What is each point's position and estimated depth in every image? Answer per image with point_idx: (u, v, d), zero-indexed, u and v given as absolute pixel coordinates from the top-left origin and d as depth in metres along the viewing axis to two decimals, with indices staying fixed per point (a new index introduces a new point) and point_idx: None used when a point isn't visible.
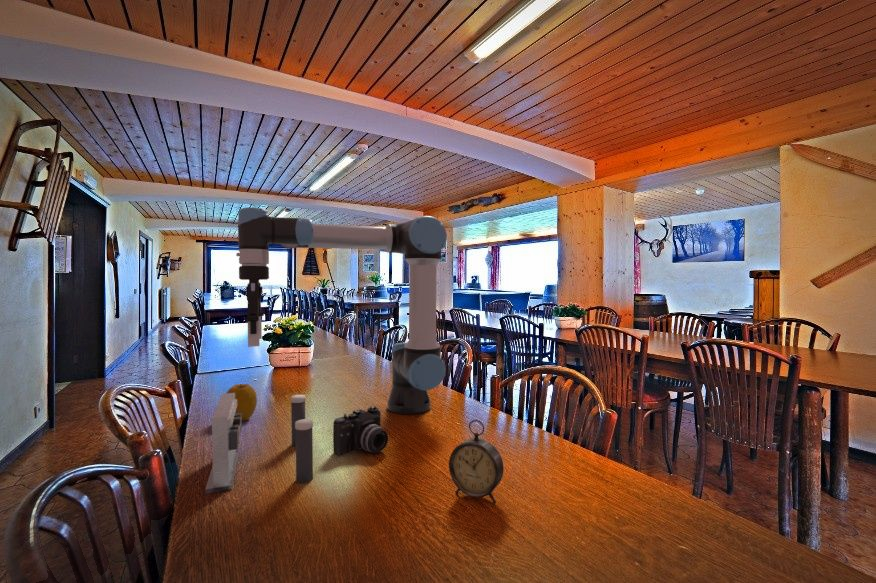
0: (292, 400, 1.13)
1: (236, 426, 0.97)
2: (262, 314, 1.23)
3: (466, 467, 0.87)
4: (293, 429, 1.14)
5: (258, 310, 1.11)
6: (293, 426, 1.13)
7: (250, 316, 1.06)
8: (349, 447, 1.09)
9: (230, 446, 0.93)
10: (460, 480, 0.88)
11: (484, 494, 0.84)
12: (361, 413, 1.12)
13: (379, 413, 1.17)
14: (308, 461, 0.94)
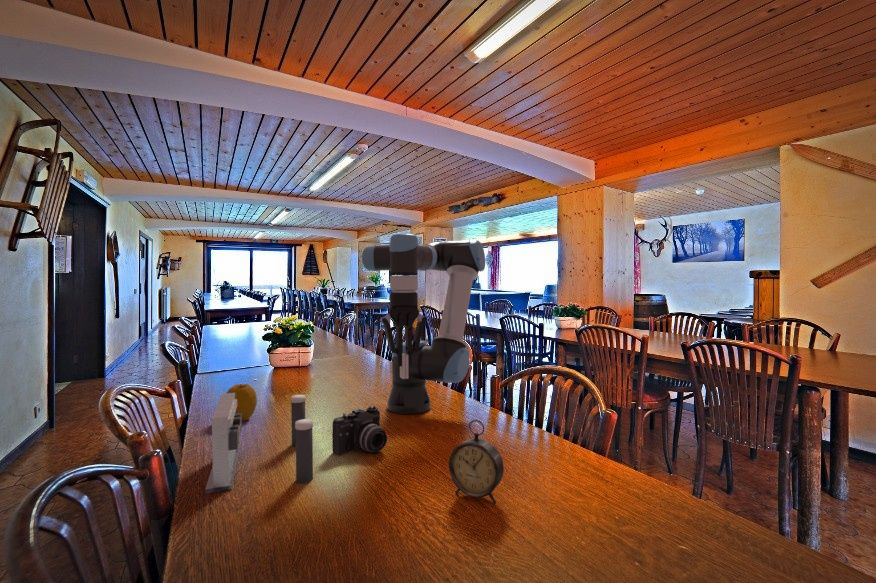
0: (292, 400, 1.13)
1: (236, 426, 0.97)
2: (409, 352, 1.13)
3: (466, 467, 0.87)
4: (293, 429, 1.14)
5: (401, 342, 1.13)
6: (293, 426, 1.13)
7: (390, 348, 1.14)
8: (348, 447, 1.10)
9: (230, 446, 0.93)
10: (460, 480, 0.88)
11: (484, 494, 0.84)
12: (360, 413, 1.12)
13: (378, 413, 1.17)
14: (308, 461, 0.94)
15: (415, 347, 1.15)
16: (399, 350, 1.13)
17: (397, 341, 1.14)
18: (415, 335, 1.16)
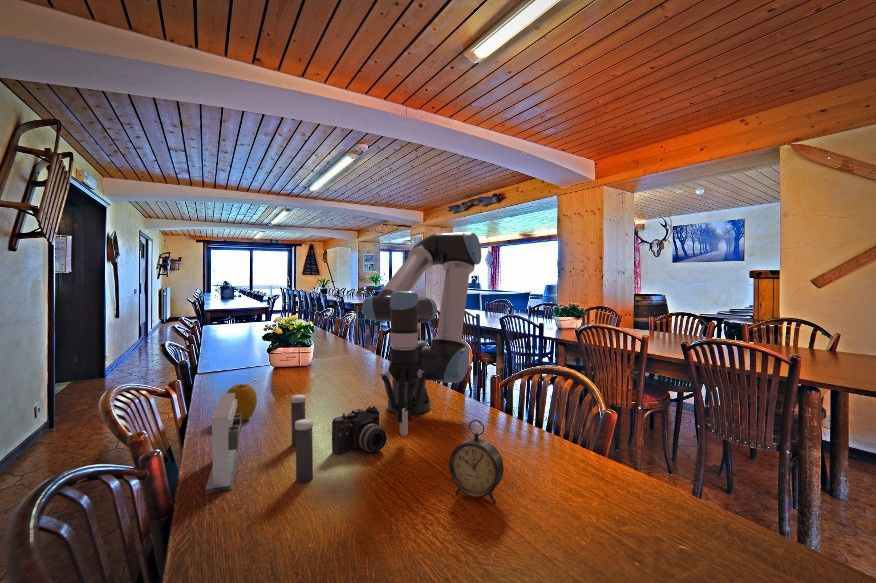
0: (292, 400, 1.13)
1: (236, 426, 0.97)
2: (409, 408, 1.14)
3: (466, 467, 0.87)
4: (293, 429, 1.14)
5: (401, 398, 1.13)
6: (293, 426, 1.13)
7: (390, 404, 1.14)
8: (348, 446, 1.10)
9: (230, 446, 0.93)
10: (460, 480, 0.88)
11: (484, 494, 0.84)
12: (360, 413, 1.12)
13: (378, 413, 1.17)
14: (308, 461, 0.94)
15: (415, 403, 1.15)
16: (399, 407, 1.13)
17: (397, 397, 1.14)
18: (415, 390, 1.16)
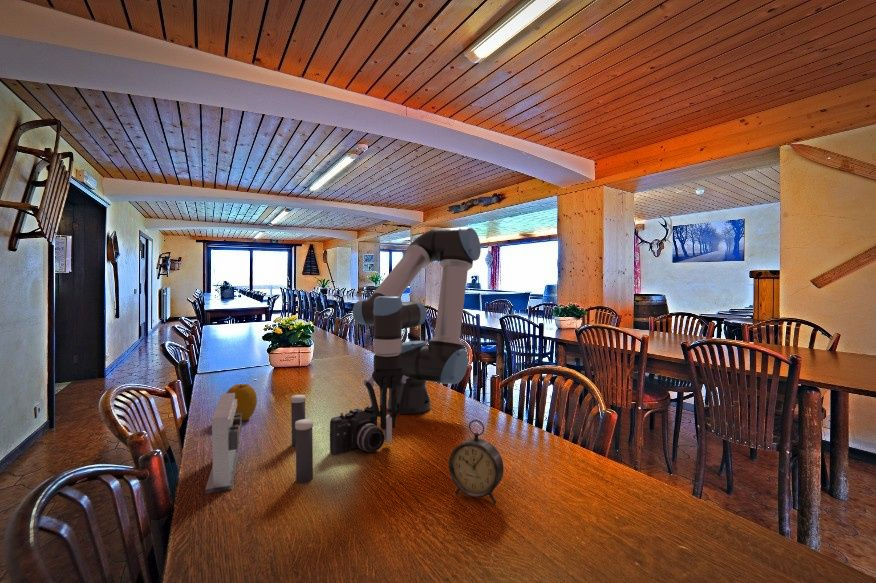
0: (292, 400, 1.13)
1: (236, 426, 0.97)
2: (393, 415, 1.12)
3: (466, 467, 0.87)
4: (293, 429, 1.14)
5: (385, 405, 1.12)
6: (293, 426, 1.13)
7: (374, 411, 1.12)
8: (345, 446, 1.10)
9: (230, 446, 0.93)
10: (460, 480, 0.88)
11: (484, 494, 0.84)
12: (358, 412, 1.12)
13: None
14: (308, 461, 0.94)
15: (399, 409, 1.13)
16: (383, 413, 1.12)
17: (381, 404, 1.12)
18: (399, 397, 1.15)
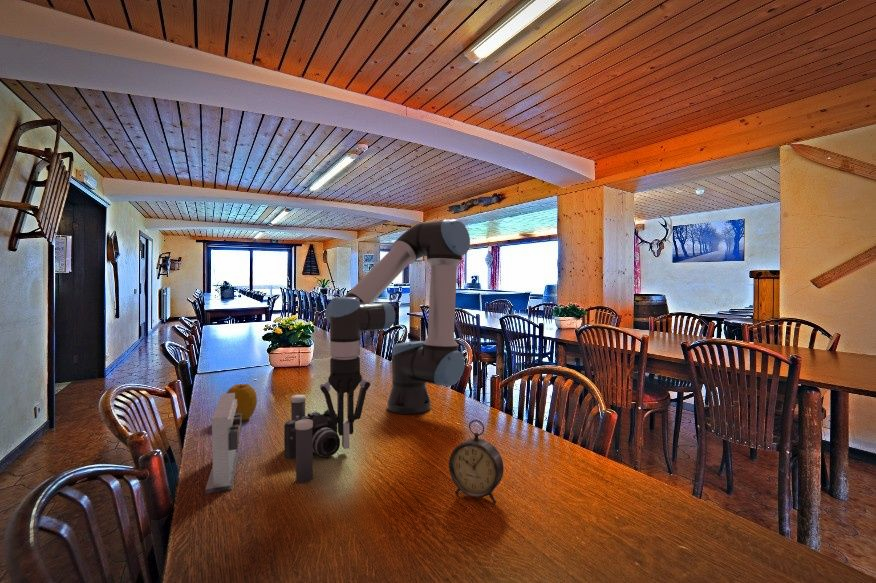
0: (292, 400, 1.13)
1: (236, 426, 0.97)
2: (350, 420, 1.08)
3: (466, 467, 0.87)
4: None
5: (342, 410, 1.08)
6: None
7: (331, 417, 1.08)
8: None
9: (230, 446, 0.93)
10: (460, 480, 0.88)
11: (484, 494, 0.84)
12: (314, 416, 1.10)
13: None
14: (308, 461, 0.94)
15: (357, 415, 1.09)
16: (340, 419, 1.07)
17: (338, 409, 1.08)
18: (358, 401, 1.11)
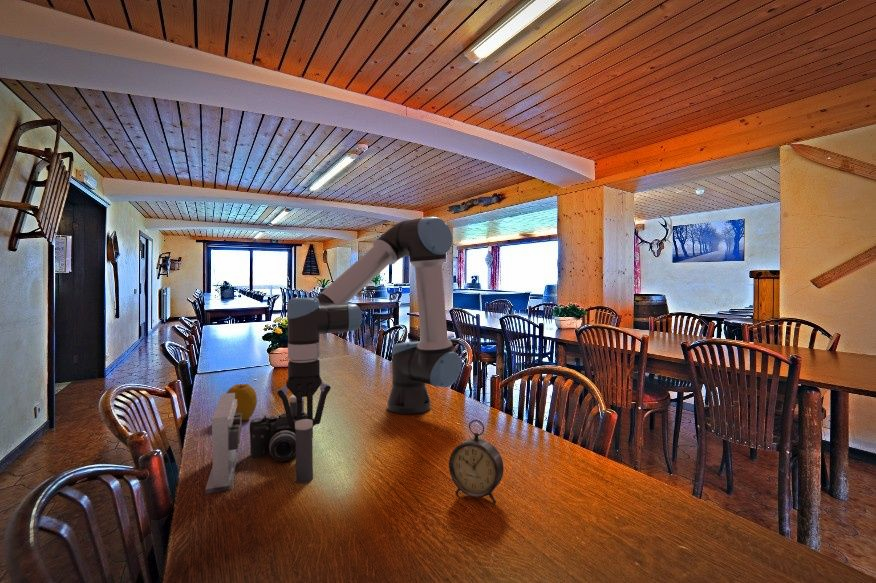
0: (290, 400, 1.14)
1: (236, 426, 0.97)
2: None
3: (466, 467, 0.87)
4: None
5: (300, 415, 1.04)
6: None
7: None
8: (263, 450, 1.07)
9: (230, 446, 0.93)
10: (460, 480, 0.88)
11: (484, 494, 0.84)
12: (279, 417, 1.09)
13: None
14: (308, 461, 0.94)
15: (316, 420, 1.05)
16: None
17: (296, 413, 1.04)
18: (318, 406, 1.07)
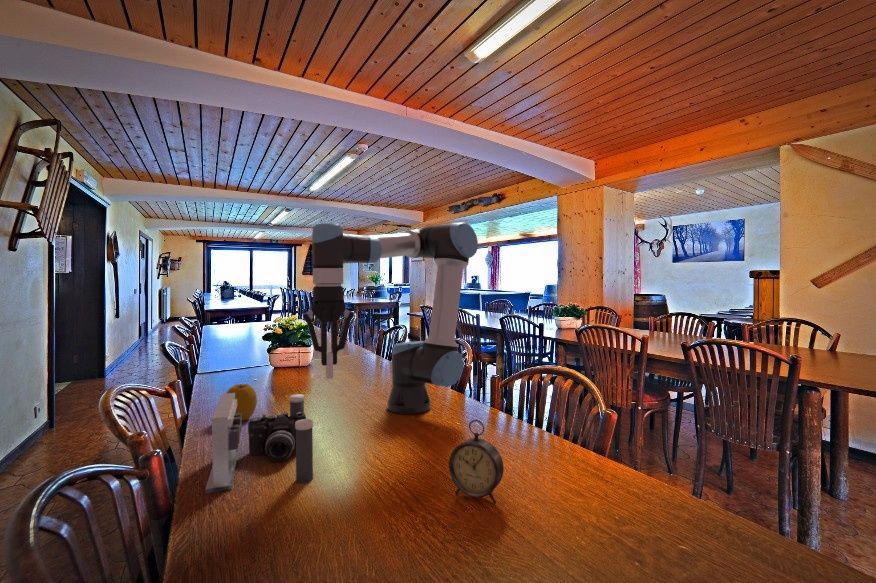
0: (290, 399, 1.14)
1: (236, 426, 0.97)
2: (334, 350, 1.06)
3: (466, 467, 0.87)
4: None
5: (325, 339, 1.06)
6: None
7: (314, 346, 1.06)
8: (261, 449, 1.08)
9: (230, 446, 0.93)
10: (460, 480, 0.88)
11: (484, 494, 0.84)
12: (277, 417, 1.09)
13: None
14: (308, 461, 0.94)
15: (341, 345, 1.07)
16: (323, 348, 1.05)
17: (321, 338, 1.06)
18: (342, 332, 1.08)
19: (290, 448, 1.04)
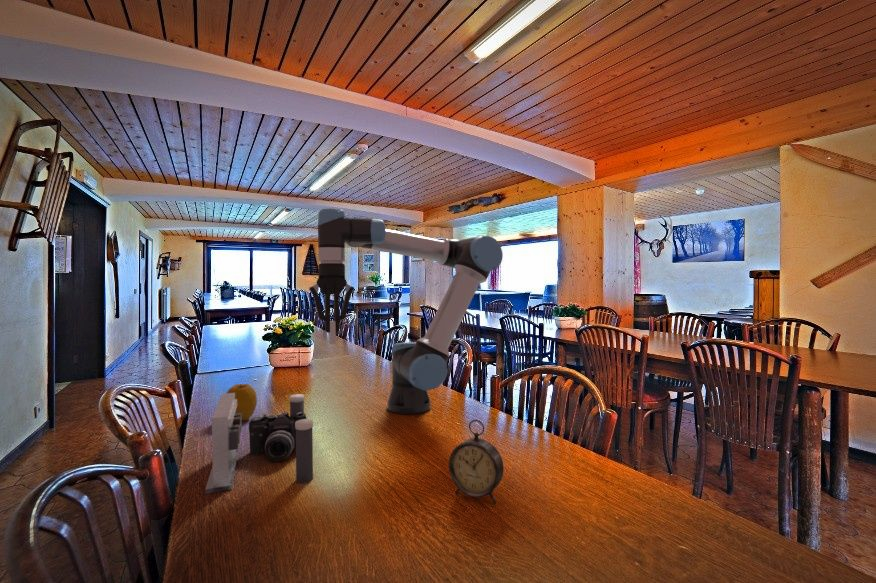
0: (290, 399, 1.14)
1: (236, 426, 0.97)
2: (336, 319, 1.22)
3: (466, 467, 0.87)
4: None
5: (328, 309, 1.21)
6: None
7: (319, 316, 1.22)
8: (261, 448, 1.09)
9: (230, 446, 0.93)
10: (460, 480, 0.88)
11: (484, 494, 0.84)
12: (277, 417, 1.09)
13: None
14: (308, 461, 0.94)
15: (342, 315, 1.23)
16: (327, 317, 1.21)
17: (325, 309, 1.22)
18: (343, 304, 1.24)
19: (289, 448, 1.04)
